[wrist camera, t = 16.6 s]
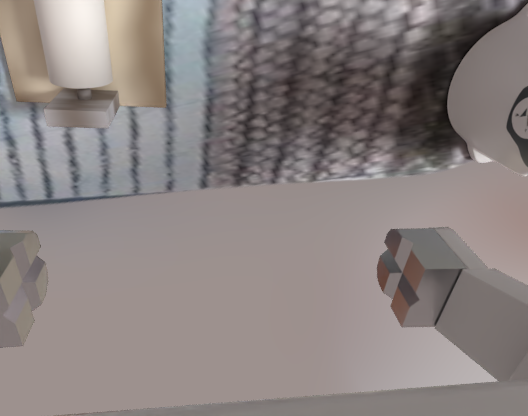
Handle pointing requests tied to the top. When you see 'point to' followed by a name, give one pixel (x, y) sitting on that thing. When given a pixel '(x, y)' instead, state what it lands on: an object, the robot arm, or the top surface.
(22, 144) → the top surface
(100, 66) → the paper roll
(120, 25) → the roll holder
